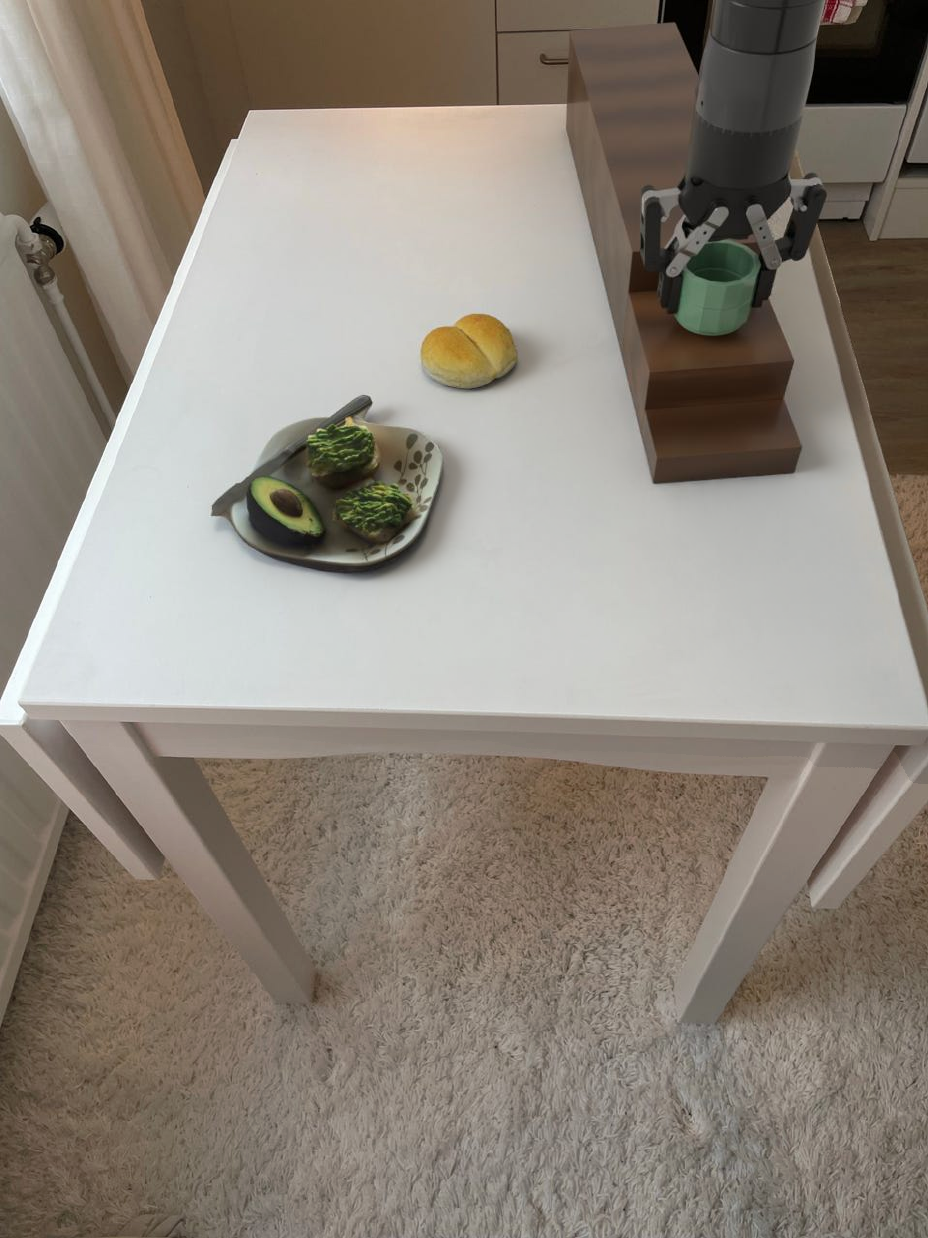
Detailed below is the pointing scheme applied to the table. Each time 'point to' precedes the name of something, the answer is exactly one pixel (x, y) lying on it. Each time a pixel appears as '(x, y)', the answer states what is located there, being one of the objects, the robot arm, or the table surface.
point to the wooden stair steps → (649, 337)
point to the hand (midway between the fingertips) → (711, 304)
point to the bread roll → (469, 352)
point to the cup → (718, 288)
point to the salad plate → (336, 492)
